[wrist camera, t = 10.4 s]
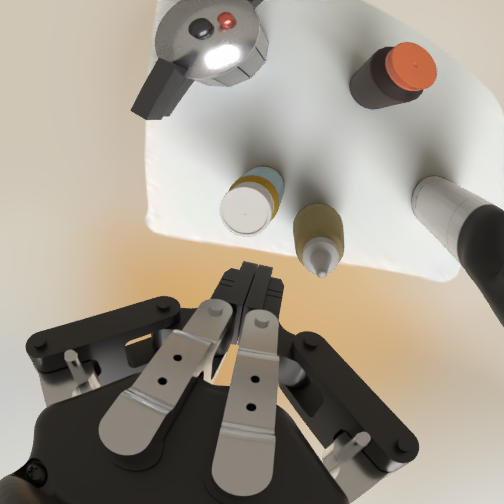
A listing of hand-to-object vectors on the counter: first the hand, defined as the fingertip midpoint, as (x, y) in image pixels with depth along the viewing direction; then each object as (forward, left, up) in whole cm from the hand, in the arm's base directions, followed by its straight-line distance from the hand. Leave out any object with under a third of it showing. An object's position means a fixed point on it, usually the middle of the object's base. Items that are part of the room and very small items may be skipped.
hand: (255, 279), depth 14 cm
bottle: (+4, +3, -33) cm, 34 cm away
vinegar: (-10, -17, -33) cm, 39 cm away
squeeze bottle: (-6, +7, -33) cm, 34 cm away
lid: (+15, -17, -24) cm, 33 cm away
